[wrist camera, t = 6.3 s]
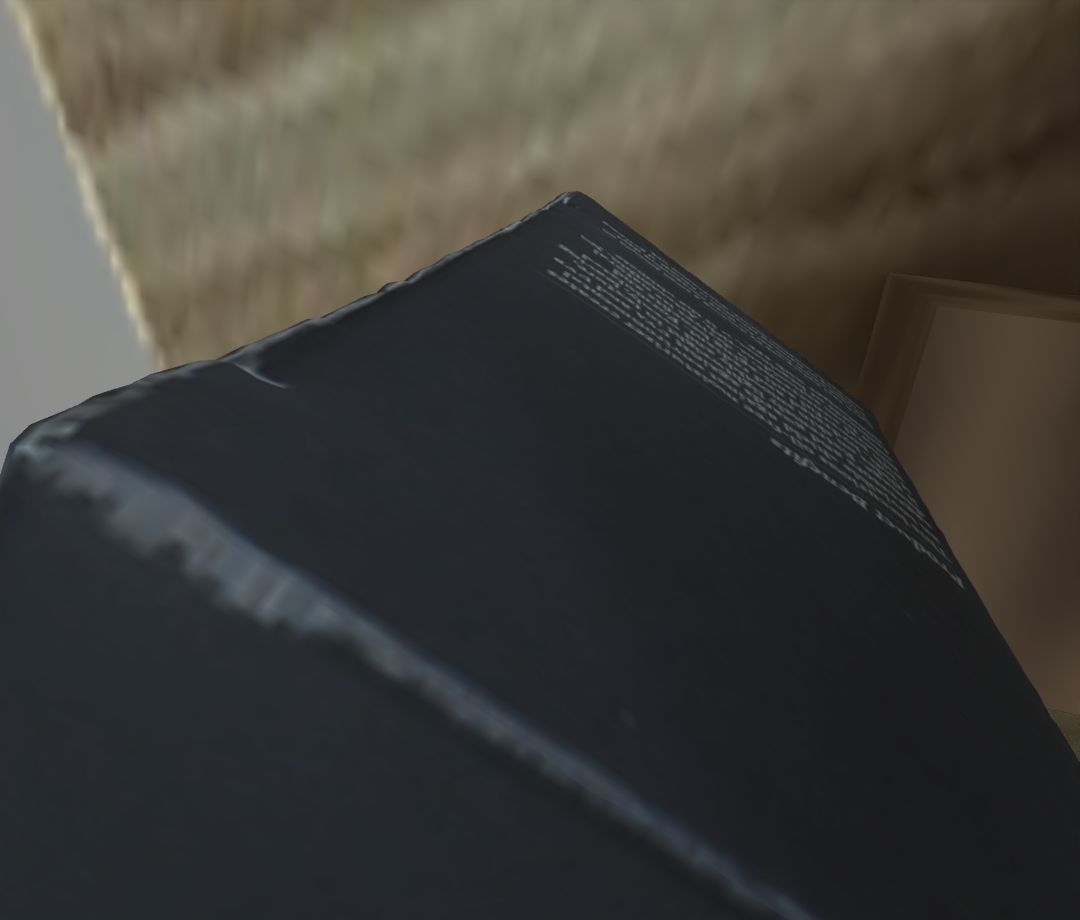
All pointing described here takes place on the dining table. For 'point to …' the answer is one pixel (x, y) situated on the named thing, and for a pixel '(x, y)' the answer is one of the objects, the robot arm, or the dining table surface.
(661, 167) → the dining table surface
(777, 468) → the small box
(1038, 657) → the walnut block
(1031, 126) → the dining table surface
